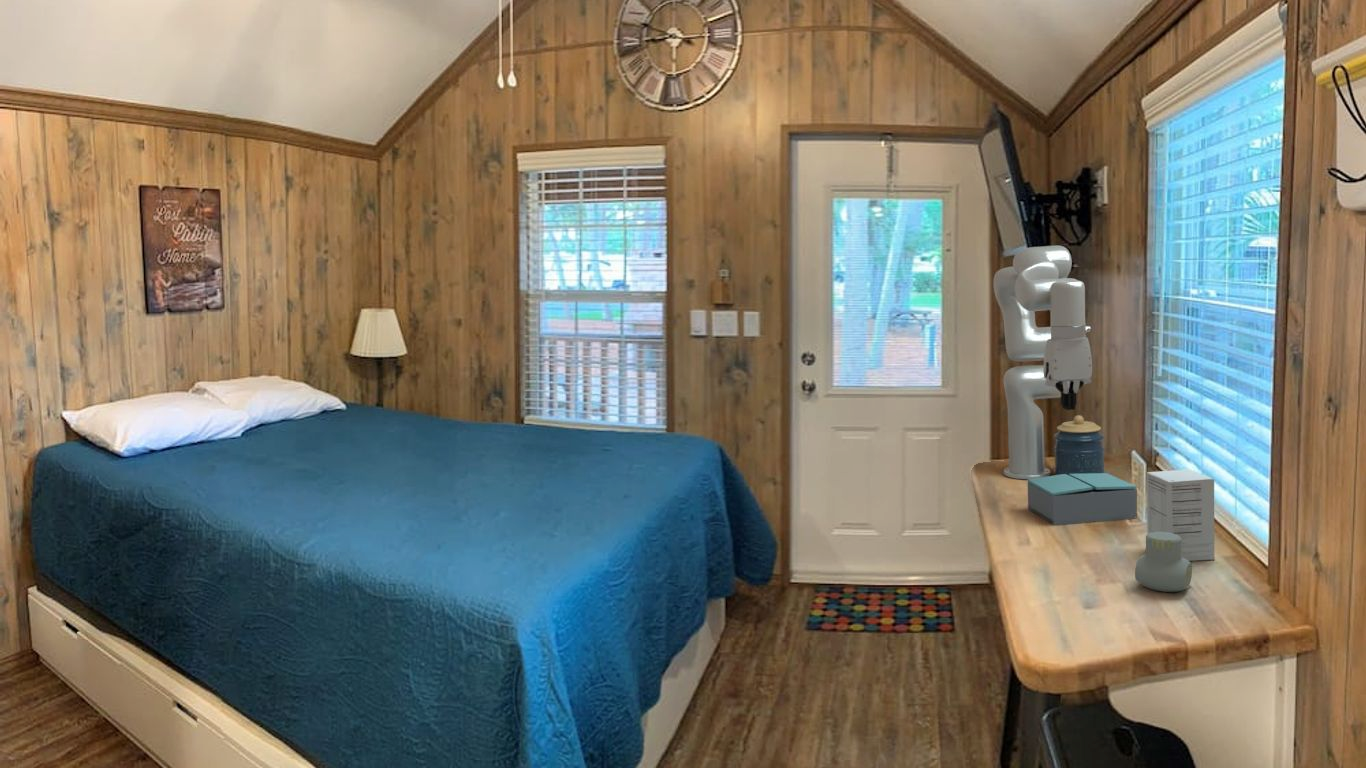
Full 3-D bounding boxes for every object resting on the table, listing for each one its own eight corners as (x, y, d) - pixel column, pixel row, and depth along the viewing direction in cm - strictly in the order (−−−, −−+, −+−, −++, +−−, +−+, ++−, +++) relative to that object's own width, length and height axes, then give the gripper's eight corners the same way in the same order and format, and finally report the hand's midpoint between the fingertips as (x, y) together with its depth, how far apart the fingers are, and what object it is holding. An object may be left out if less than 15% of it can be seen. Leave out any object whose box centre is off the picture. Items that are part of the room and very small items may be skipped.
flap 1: (1027, 481, 218) (1027, 479, 218) (1065, 476, 218) (1065, 473, 218) (1052, 495, 205) (1052, 493, 205) (1092, 489, 205) (1092, 487, 205)
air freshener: (1145, 574, 172) (1145, 525, 170) (1193, 581, 166) (1194, 530, 165) (1132, 592, 163) (1132, 541, 162) (1182, 600, 158) (1182, 547, 157)
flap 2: (1068, 476, 219) (1069, 473, 218) (1106, 475, 219) (1106, 473, 219) (1096, 489, 205) (1096, 487, 205) (1136, 488, 205) (1136, 486, 205)
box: (1028, 509, 219) (1027, 482, 219) (1106, 502, 220) (1106, 475, 219) (1053, 525, 206) (1053, 496, 205) (1137, 518, 206) (1136, 489, 205)
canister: (1057, 482, 242) (1056, 420, 239) (1052, 471, 254) (1050, 411, 252) (1108, 482, 238) (1108, 419, 236) (1100, 471, 250) (1100, 410, 248)
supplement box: (1216, 560, 176) (1216, 479, 174) (1169, 563, 177) (1169, 482, 174) (1189, 545, 186) (1189, 468, 184) (1145, 548, 186) (1145, 471, 184)
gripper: (1090, 329, 211) (1091, 404, 214) (1029, 334, 211) (1031, 408, 213) (1107, 331, 204) (1107, 409, 206) (1043, 336, 203) (1045, 414, 206)
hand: (1068, 408), depth 210 cm, fingers closed
